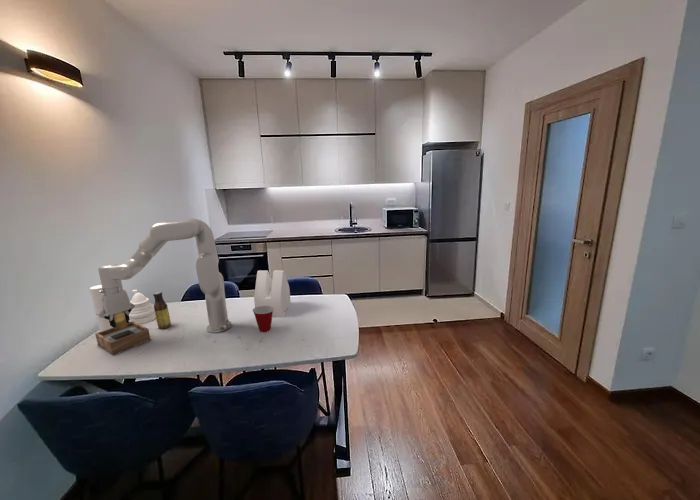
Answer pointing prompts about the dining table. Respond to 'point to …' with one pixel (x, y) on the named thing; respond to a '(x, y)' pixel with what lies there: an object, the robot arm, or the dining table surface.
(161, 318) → the sauce bottle
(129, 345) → the peg box
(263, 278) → the white notched block
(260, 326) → the plastic cup
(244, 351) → the dining table surface
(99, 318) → the cylindrical container
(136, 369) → the dining table surface
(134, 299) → the honey pot
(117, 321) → the peg
